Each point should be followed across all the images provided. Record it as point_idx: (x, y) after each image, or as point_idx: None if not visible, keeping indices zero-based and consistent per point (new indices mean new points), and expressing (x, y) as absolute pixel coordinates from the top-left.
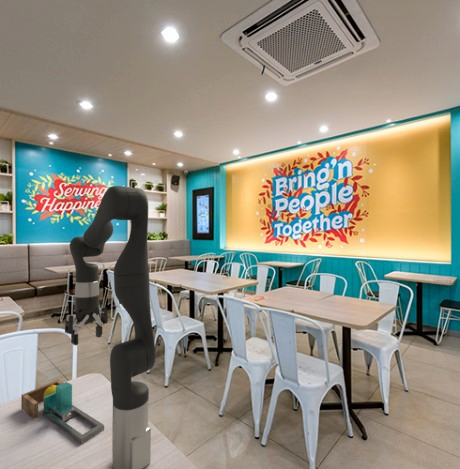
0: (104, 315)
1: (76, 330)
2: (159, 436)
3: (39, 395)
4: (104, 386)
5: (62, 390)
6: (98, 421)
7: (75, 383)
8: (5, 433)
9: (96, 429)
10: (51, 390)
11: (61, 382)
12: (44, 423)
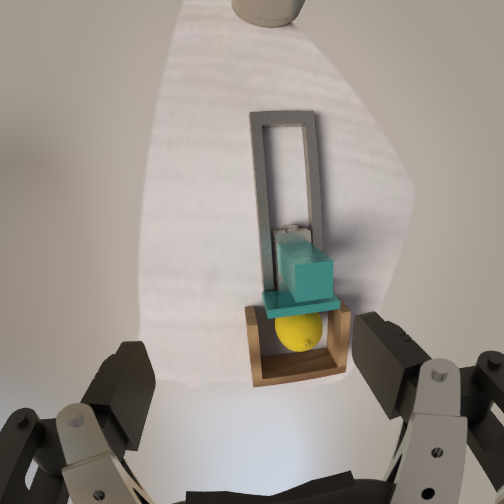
0: (3, 490)
1: (451, 387)
2: (180, 14)
3: (304, 362)
4: (149, 306)
5: (327, 259)
6: (252, 137)
7: (202, 374)
8: (386, 287)
9: (272, 112)
10: (313, 326)
11: (255, 369)
12: None
